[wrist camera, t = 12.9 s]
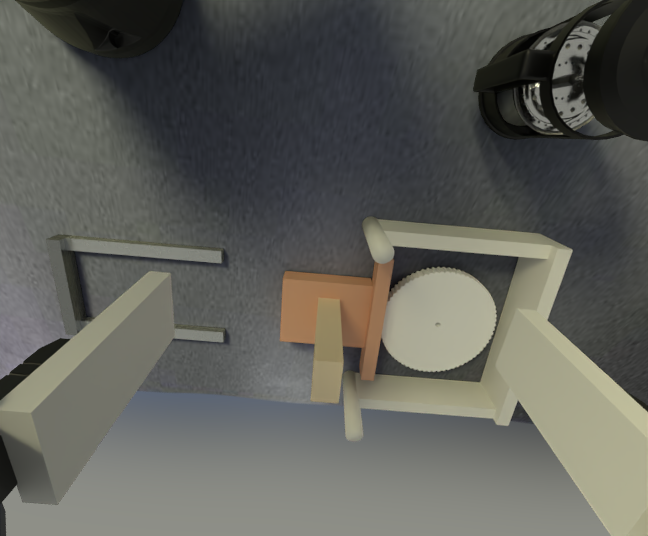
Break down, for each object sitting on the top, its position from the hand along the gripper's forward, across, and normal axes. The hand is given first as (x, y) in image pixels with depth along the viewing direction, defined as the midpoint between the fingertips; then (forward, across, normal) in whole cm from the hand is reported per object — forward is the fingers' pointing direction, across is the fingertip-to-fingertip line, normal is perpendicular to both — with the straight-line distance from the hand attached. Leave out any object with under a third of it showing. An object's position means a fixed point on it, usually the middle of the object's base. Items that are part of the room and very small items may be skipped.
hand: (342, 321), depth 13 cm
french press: (+28, +18, +12) cm, 35 cm away
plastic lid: (+28, +15, -14) cm, 34 cm away
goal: (+27, +14, -14) cm, 34 cm away
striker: (+27, +2, -14) cm, 30 cm away
